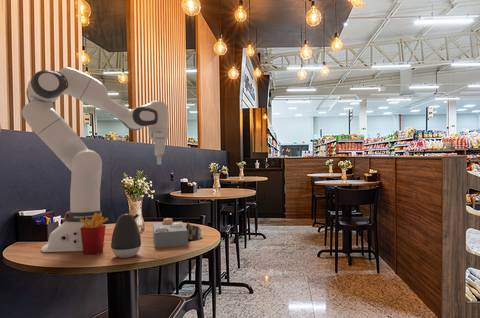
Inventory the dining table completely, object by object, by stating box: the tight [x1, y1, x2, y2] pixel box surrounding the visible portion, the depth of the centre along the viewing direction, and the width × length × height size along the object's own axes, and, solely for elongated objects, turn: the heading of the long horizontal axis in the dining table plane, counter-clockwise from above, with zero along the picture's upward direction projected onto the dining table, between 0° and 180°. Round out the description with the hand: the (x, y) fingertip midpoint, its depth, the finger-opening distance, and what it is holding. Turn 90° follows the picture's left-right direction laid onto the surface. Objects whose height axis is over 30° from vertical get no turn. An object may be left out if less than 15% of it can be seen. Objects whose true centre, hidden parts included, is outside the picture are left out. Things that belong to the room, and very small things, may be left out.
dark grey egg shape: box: [110, 213, 142, 259], centre depth 119 cm, size 10×10×15 cm
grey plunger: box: [157, 227, 167, 232], centre depth 135 cm, size 4×4×5 cm
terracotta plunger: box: [163, 217, 174, 225], centre depth 151 cm, size 4×4×5 cm
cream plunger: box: [172, 223, 181, 228], centre depth 143 cm, size 4×4×5 cm
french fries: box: [80, 213, 109, 256], centre depth 125 cm, size 9×8×15 cm
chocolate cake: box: [185, 222, 202, 241], centre depth 148 cm, size 10×7×12 cm
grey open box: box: [152, 221, 189, 249], centre depth 143 cm, size 13×23×6 cm, turn 16°
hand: (159, 164), depth 158 cm, fingers closed
